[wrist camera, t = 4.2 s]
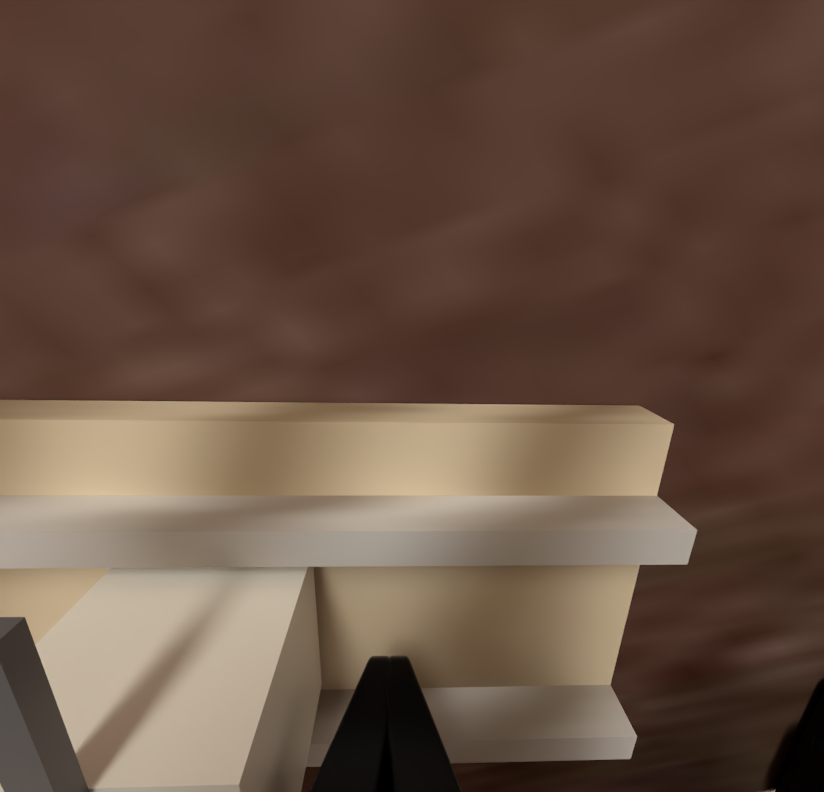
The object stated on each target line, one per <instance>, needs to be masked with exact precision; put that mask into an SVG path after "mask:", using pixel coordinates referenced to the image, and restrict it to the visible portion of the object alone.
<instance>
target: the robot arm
mask: <svg viewBox="0 0 824 792" xmlns="http://www.w3.org/2000/svg"><path fill="white" fill-rule="evenodd" d="M309 792H462V790H461V787H460V785H459V782H458V780H457V777H456V775H455V772H454V770H453V767H452V765H451V762H450V760H449V757H448V755H447V752H446V750H445V747H444V745H443V742H442V740H441V737H440V735H439V732H438V730H437V727H436V725H435V722H434V719H433V717H432V714H431V712H430V709H429V707H428V704H427V702H426V699H425V697H424V694H423V692H422V689H421V687H420V684H419V682H418V679H417V677H416V674H415V672H414V669H413V667H412V664H411V662H410V659H409V658H408V657H407V656H406V655H396V656H390V657H388V656H372V657H370V658H369V660H368V662H367V664H366V666H365V669H364V671H363V673H362V675H361V677H360V680H359V682H358V684H357V686H356V689H355V691H354V693H353V695H352V697H351V700H350V702H349V704H348V706H347V709H346V711H345V713H344V715H343V717H342V720H341V722H340V724H339V726H338V729H337V731H336V733H335V735H334V738H333V740H332V742H331V744H330V746H329V749H328V751H327V753H326V755H325V758H324V760H323V762H322V764H321V766H320V769H319V771H318V773H317V775H316V778H315V780H314V782H313V784H312V786H311V789H310V791H309ZM775 792H824V692H823V694H822V696H821V698H820V700H819V702H818V704H817V706H816V708H815V710H814V712H813V714H812V716H811V718H810V721H809V723H808V725H807V727H806V729H805V731H804V733H803V735H802V737H801V739H800V741H799V743H798V745H797V747H796V749H795V752H794V754H793V756H792V758H791V760H790V762H789V764H788V766H787V768H786V770H785V772H784V774H783V776H782V778H781V781H780V783H779V785H778V787H777V789H776V791H775Z"/></svg>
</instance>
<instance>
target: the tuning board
mask: <svg viewBox="0 0 824 792" xmlns="http://www.w3.org/2000/svg"><path fill="white" fill-rule="evenodd" d="M673 428H674V424H673V423H671V422H669V421H667V420H665V419H663V418H661V417H660V416H658V415H656V414H654V413H652V412H650V411H648V410H647V409H645V408H643V407H641V406H618V405H509V404H400V403H291V402H181V401H72V400H0V617H25V619H26V622H27V624H28V627H29V630H30V632H31V635H32V638H33V640H34V643H35V645H36V644H37V643H38V642H39V641H40V640H41V639H42V638H43V637H44V636H45V634H46V633H47V632H48V631H49V630H50V629H51V628H52V627H53V626H54V625H55V624H56V623H57V622H58V621H59V620H60V619H61V618H62V617H63V616H64V615H65V614H66V613H67V612H68V611H69V610H70V609H71V608H72V607H73V606H74V605H75V604H76V603H77V602H78V601H79V600H80V599H81V598H82V597H83V596H84V595H85V594H86V593H87V592H88V591H89V590H90V589H91V588H92V587H93V586H94V585H95V584H96V583H97V582H98V581H99V580H100V579H101V578H102V577H103V576H104V575H105V574H106V573H107V572H108V571H109V570H110V569H111V568H181V567H314V581H315V595H316V609H317V623H318V638H319V652H320V666H321V680H322V685H321V690H320V696H319V701H318V706H317V711H316V717H315V722H314V727H313V732H312V738H311V743H310V748H309V753H308V759H307V764H306V767H320V766H321V764H322V762H323V760H324V758H325V755H326V753H327V751H328V749H329V746H330V744H331V742H332V740H333V738H334V735H335V733H336V731H337V729H338V726H339V724H340V722H341V720H342V717H343V715H344V713H345V711H346V709H347V706H348V704H349V702H350V700H351V697H352V695H353V693H354V691H355V689H356V686H357V684H358V682H359V680H360V677H361V675H362V673H363V671H364V669H365V666H366V664H367V662H368V660H369V658H370V657H372V656H388V657H390V656H396V655H406V656H407V657H408V658H409V659H410V662H411V664H412V667H413V669H414V672H415V674H416V677H417V679H418V682H419V684H420V687H421V689H422V692H423V694H424V697H425V699H426V702H427V704H428V707H429V709H430V712H431V714H432V717H433V719H434V722H435V725H436V727H437V730H438V732H439V735H440V737H441V740H442V742H443V745H444V747H445V750H446V752H447V755H448V757H449V760H450V762H451V763H486V762H527V761H567V760H607V759H631V756H632V752H633V749H634V746H635V742H636V739H637V735H636V733H635V732H634V730H633V728H632V726H631V724H630V722H629V720H628V718H627V716H626V714H625V712H624V710H623V708H622V706H621V704H620V702H619V700H618V699H617V697H616V695H615V693H614V691H613V689H612V687H611V685H610V684H611V680H612V676H613V672H614V668H615V664H616V660H617V656H618V652H619V648H620V643H621V639H622V635H623V631H624V627H625V623H626V619H627V615H628V611H629V607H630V603H631V599H632V595H633V591H634V586H635V582H636V578H637V574H638V570H639V566H640V565H668V564H688V560H689V557H690V553H691V550H692V547H693V543H694V540H695V536H696V533H697V530H696V529H695V528H694V527H693V526H692V525H691V524H689V523H688V522H687V521H686V520H685V519H684V518H682V517H681V516H680V515H679V514H678V513H677V512H675V511H674V510H673V509H672V508H671V507H669V506H668V505H667V504H666V503H665V502H664V501H662V500H661V499H660V498H659V497H658V496H657V493H658V489H659V485H660V481H661V477H662V472H663V468H664V464H665V460H666V456H667V452H668V448H669V444H670V440H671V436H672V432H673Z"/></svg>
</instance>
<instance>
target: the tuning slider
mask: <svg viewBox="0 0 824 792" xmlns="http://www.w3.org/2000/svg"><path fill="white" fill-rule="evenodd" d="M321 685H322V680H321V666H320V652H319V638H318V623H317V609H316V595H315V581H314V567H181V568H111V569H110V570H109V571H108V572H107V573H106V574H105V575H104V576H103V577H102V578H101V579H100V580H99V581H98V582H97V583H96V584H95V585H94V586H93V587H92V588H91V589H90V590H89V591H88V592H87V593H86V594H85V595H84V596H83V597H82V598H81V599H80V600H79V601H78V602H77V603H76V604H75V605H74V606H73V607H72V608H71V609H70V610H69V611H68V612H67V613H66V614H65V615H64V616H63V617H62V618H61V619H60V620H59V621H58V622H57V623H56V624H55V625H54V626H53V627H52V628H51V629H50V630H49V631H48V632H47V633H46V634H45V636H44V637H43V638H42V639H41V640H40V641H39V642H38V643H37V644H36V645H35V643H34V640H33V638H32V635H31V632H30V630H29V627H28V624H27V622H26V619H25V617H0V792H301V790H302V785H303V779H304V774H305V769H306V764H307V759H308V753H309V748H310V743H311V738H312V732H313V727H314V722H315V717H316V711H317V706H318V701H319V696H320V690H321Z"/></svg>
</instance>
